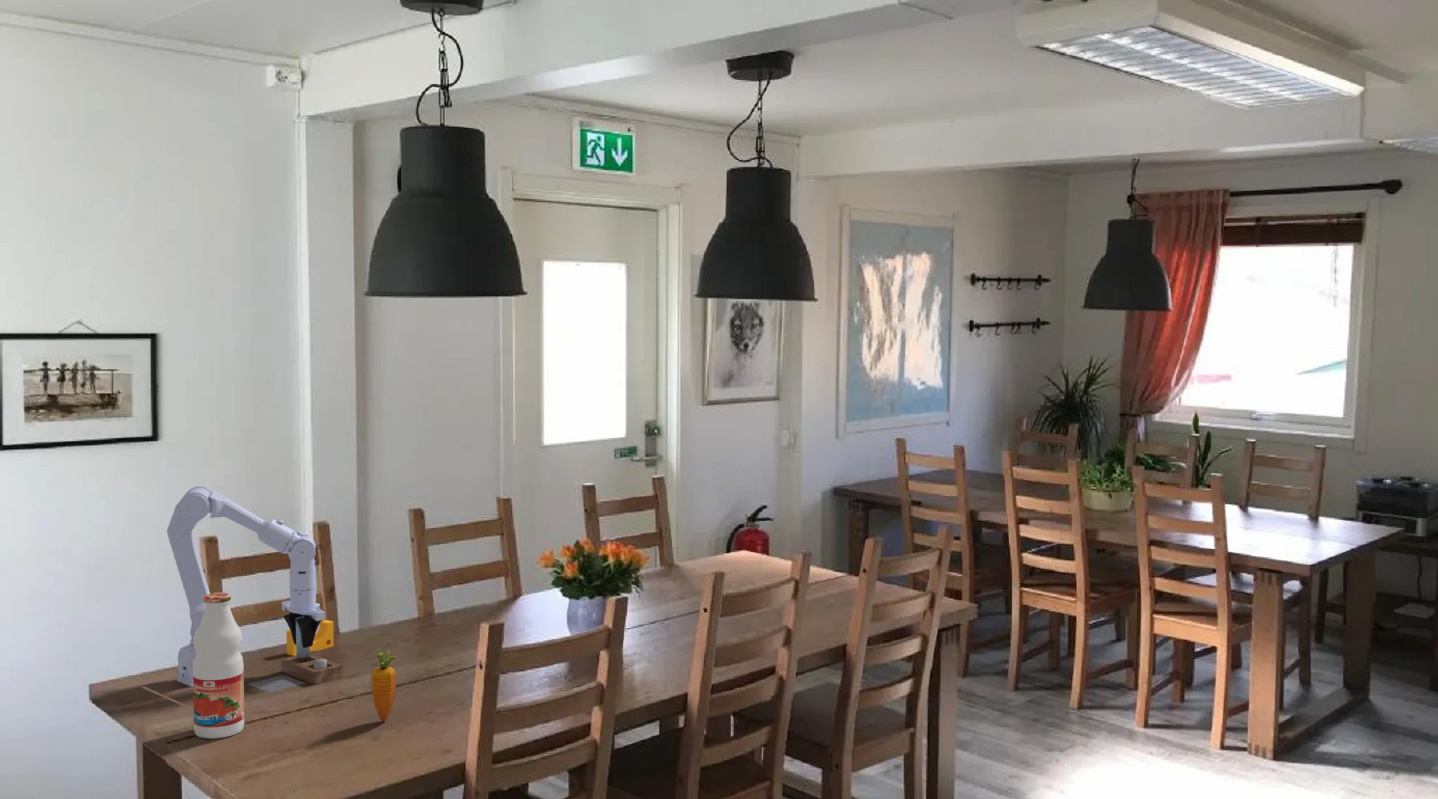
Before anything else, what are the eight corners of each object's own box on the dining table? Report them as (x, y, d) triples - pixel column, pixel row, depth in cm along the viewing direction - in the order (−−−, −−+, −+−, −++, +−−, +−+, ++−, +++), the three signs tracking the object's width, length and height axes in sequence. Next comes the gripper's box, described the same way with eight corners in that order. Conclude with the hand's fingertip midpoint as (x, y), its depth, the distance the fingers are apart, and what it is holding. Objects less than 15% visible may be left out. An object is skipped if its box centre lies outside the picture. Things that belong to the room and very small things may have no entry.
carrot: (386, 715, 248) (386, 646, 247) (401, 721, 245) (401, 650, 243) (366, 721, 244) (366, 651, 243) (380, 727, 241) (380, 656, 240)
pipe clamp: (322, 643, 299) (322, 618, 298) (333, 646, 296) (333, 621, 296) (282, 654, 289) (281, 629, 288) (293, 658, 286) (293, 632, 286)
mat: (269, 694, 259) (269, 692, 259) (247, 685, 265) (247, 684, 265) (305, 684, 266) (305, 683, 266) (283, 676, 272) (283, 674, 272)
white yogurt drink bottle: (252, 724, 241) (251, 590, 239) (229, 740, 232) (228, 601, 230) (209, 721, 242) (207, 588, 240) (184, 738, 233) (182, 599, 230)
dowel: (301, 658, 272) (300, 620, 271) (293, 656, 274) (293, 618, 273) (312, 655, 275) (311, 617, 274) (305, 653, 276) (304, 615, 276)
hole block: (315, 686, 266) (315, 667, 265) (281, 673, 274) (281, 654, 274) (342, 678, 271) (342, 660, 271) (308, 666, 280) (308, 648, 279)
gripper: (335, 590, 272) (336, 647, 273) (300, 580, 281) (301, 635, 282) (308, 595, 266) (309, 654, 267) (273, 585, 275) (274, 642, 276)
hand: (303, 645), depth 274 cm, fingers closed on dowel, 3 cm apart
